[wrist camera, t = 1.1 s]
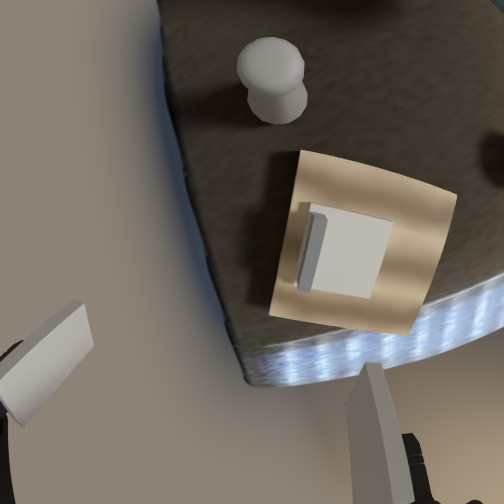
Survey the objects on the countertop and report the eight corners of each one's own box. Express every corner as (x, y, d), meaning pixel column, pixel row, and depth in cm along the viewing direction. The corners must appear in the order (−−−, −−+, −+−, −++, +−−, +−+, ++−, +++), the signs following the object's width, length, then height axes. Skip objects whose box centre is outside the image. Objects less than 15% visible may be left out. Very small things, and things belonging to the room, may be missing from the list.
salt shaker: (244, 118, 26) (208, 90, 14) (259, 71, 24) (236, 17, 12) (297, 134, 26) (302, 114, 14) (313, 86, 24) (327, 37, 12)
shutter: (310, 201, 26) (313, 208, 22) (390, 220, 25) (402, 228, 22) (293, 281, 29) (292, 297, 25) (367, 294, 28) (375, 310, 25)
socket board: (299, 150, 27) (300, 149, 24) (444, 190, 25) (457, 194, 23) (270, 301, 33) (268, 314, 30) (400, 322, 32) (407, 335, 29)
